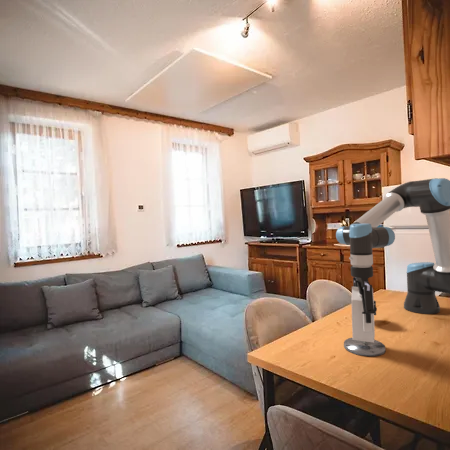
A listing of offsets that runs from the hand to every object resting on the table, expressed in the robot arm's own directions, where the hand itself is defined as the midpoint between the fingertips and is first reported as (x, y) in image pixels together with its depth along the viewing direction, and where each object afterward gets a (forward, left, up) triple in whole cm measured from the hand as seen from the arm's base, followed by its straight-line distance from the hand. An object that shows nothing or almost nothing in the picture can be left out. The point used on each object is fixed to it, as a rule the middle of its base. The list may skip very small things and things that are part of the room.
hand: (363, 326), depth 116 cm
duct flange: (0, 0, -8) cm, 8 cm away
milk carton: (0, 0, -5) cm, 5 cm away
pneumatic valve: (-13, -25, -8) cm, 29 cm away
